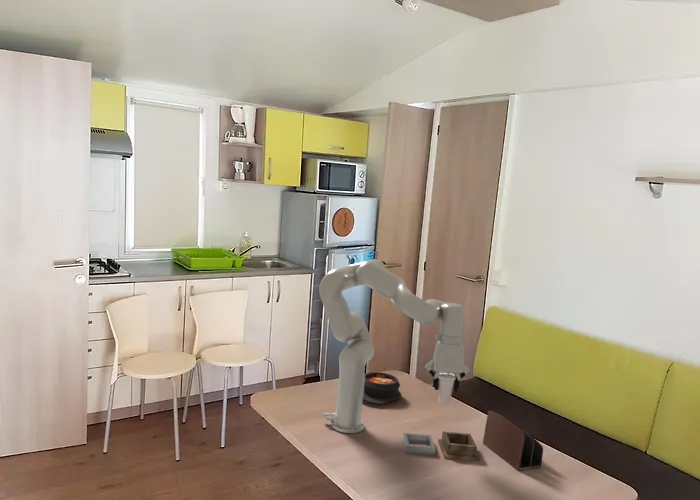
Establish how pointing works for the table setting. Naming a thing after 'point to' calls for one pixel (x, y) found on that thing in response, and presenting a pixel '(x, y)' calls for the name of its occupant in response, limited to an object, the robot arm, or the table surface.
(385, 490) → the table surface
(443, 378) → the smoothie
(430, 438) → the holder
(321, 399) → the table surface
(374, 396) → the casserole
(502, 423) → the letter holder
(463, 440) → the socket
